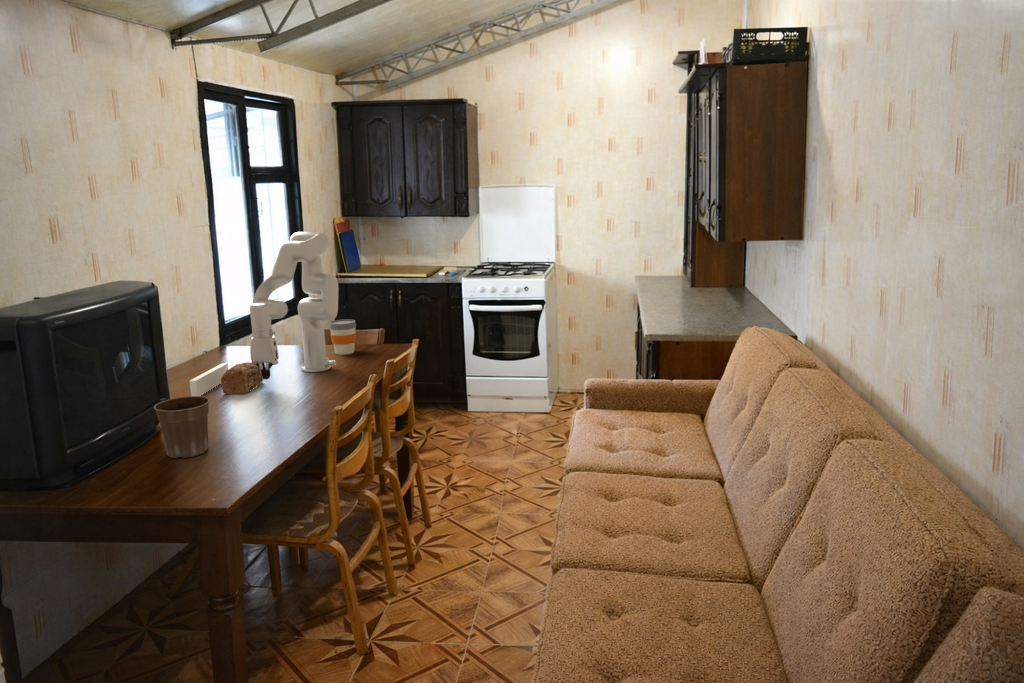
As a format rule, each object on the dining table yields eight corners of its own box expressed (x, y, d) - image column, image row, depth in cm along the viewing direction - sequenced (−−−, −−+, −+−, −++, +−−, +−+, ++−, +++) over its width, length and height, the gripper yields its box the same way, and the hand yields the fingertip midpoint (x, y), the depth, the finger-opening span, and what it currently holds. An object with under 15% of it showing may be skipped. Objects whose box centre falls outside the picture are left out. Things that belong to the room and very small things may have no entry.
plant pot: (149, 454, 254) (143, 405, 250) (196, 440, 266) (191, 393, 263) (177, 465, 244) (171, 413, 240) (225, 449, 256) (220, 400, 253)
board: (229, 379, 343) (227, 363, 342) (197, 398, 316) (195, 380, 314) (223, 379, 343) (221, 363, 342) (191, 398, 316) (189, 380, 315)
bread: (246, 395, 319) (244, 370, 317) (220, 395, 320) (218, 370, 318) (265, 382, 337) (262, 359, 335) (240, 382, 338) (238, 359, 336)
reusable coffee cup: (326, 354, 384) (324, 323, 381) (339, 349, 396) (337, 318, 393) (350, 356, 380) (348, 324, 377) (362, 350, 392) (360, 319, 389)
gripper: (283, 332, 325) (287, 376, 329) (248, 332, 327) (252, 376, 331) (276, 335, 318) (280, 381, 322) (240, 336, 319) (244, 381, 323)
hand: (266, 378), depth 326 cm, fingers closed
